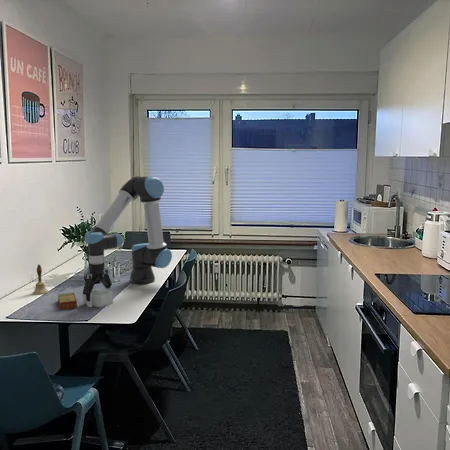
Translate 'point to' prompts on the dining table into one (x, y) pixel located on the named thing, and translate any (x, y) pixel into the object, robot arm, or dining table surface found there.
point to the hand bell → (40, 283)
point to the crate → (100, 298)
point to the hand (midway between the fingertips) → (98, 303)
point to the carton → (67, 301)
